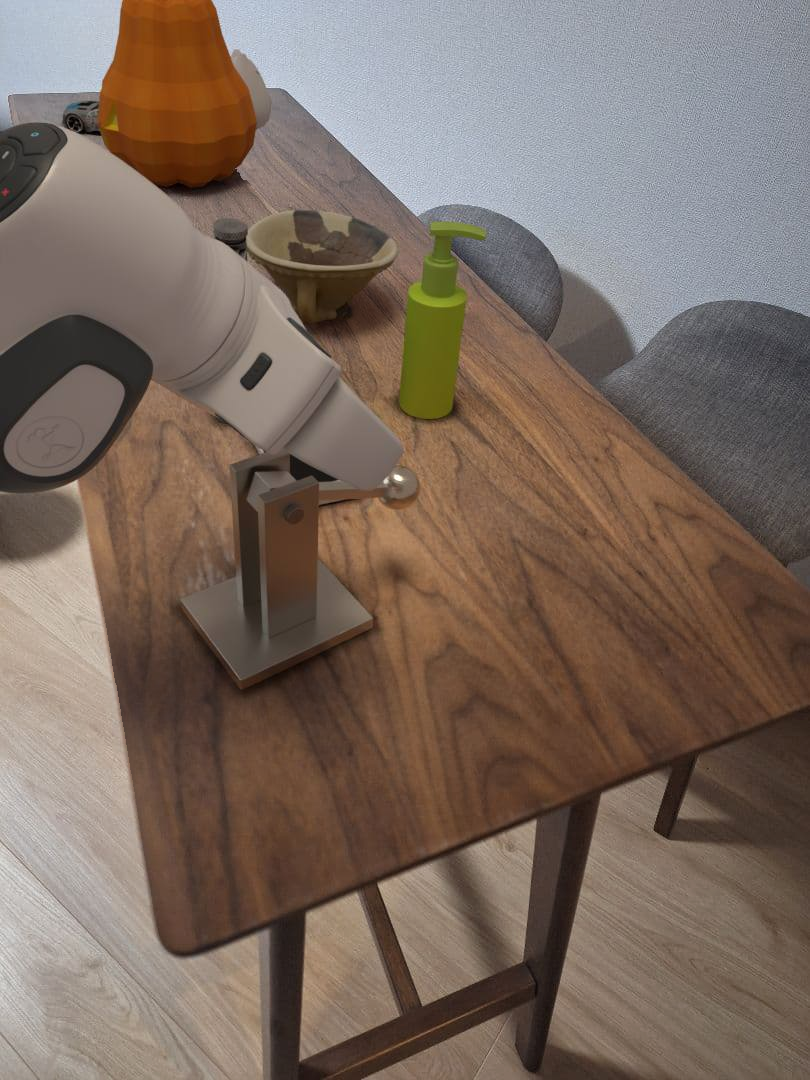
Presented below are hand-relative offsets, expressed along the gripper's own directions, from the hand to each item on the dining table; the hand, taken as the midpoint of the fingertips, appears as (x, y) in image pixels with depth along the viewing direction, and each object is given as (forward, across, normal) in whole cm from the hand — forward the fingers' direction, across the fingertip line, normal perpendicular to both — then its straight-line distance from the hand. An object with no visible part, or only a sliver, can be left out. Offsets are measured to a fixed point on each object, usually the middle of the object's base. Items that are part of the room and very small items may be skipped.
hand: (348, 425), depth 66 cm
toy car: (+32, -113, +8) cm, 118 cm away
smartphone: (+16, -18, -7) cm, 25 cm away
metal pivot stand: (+8, 0, -16) cm, 18 cm away
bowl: (+30, -43, +6) cm, 53 cm away
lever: (+5, 0, -6) cm, 8 cm away
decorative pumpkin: (+33, -91, +9) cm, 97 cm away
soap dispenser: (+29, -19, +5) cm, 35 cm away
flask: (+17, -32, -6) cm, 37 cm away
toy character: (+47, -107, +24) cm, 119 cm away
